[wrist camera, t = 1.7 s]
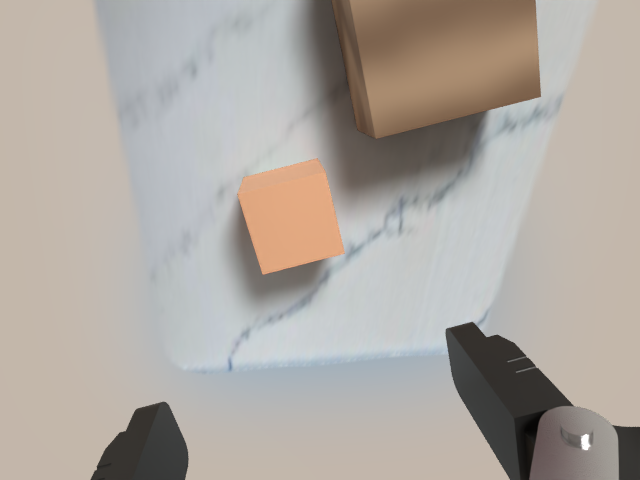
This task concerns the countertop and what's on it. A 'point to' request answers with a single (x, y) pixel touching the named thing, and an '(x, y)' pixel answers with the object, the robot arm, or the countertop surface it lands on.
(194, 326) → the countertop surface
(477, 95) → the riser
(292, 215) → the block
